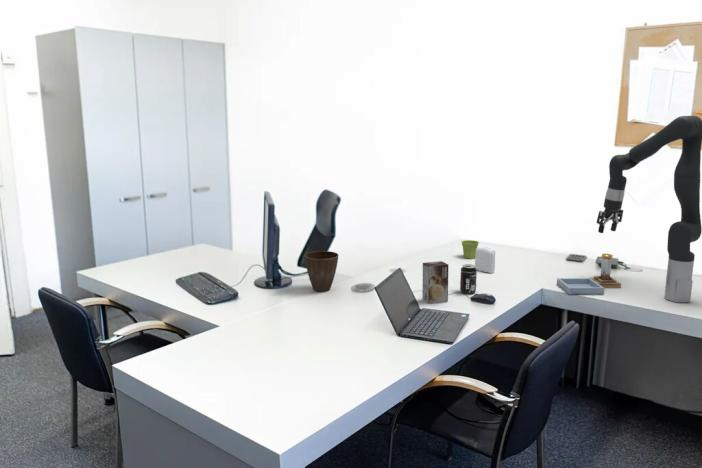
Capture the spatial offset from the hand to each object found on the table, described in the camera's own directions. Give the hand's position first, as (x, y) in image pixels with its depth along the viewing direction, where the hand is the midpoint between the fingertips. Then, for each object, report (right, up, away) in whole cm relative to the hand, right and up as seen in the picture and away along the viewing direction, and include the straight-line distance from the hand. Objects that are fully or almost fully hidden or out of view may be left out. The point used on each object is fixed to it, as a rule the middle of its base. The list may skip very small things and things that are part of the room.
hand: (606, 231), depth 266 cm
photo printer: (-52, -20, +18) cm, 59 cm away
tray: (-18, -26, -12) cm, 33 cm away
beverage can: (-68, -27, -15) cm, 74 cm away
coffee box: (-84, -29, -26) cm, 92 cm away
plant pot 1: (-132, -26, -10) cm, 135 cm away
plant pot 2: (-54, -14, +44) cm, 72 cm away
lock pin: (-4, -22, -6) cm, 23 cm away
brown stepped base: (-4, -24, -6) cm, 25 cm away
